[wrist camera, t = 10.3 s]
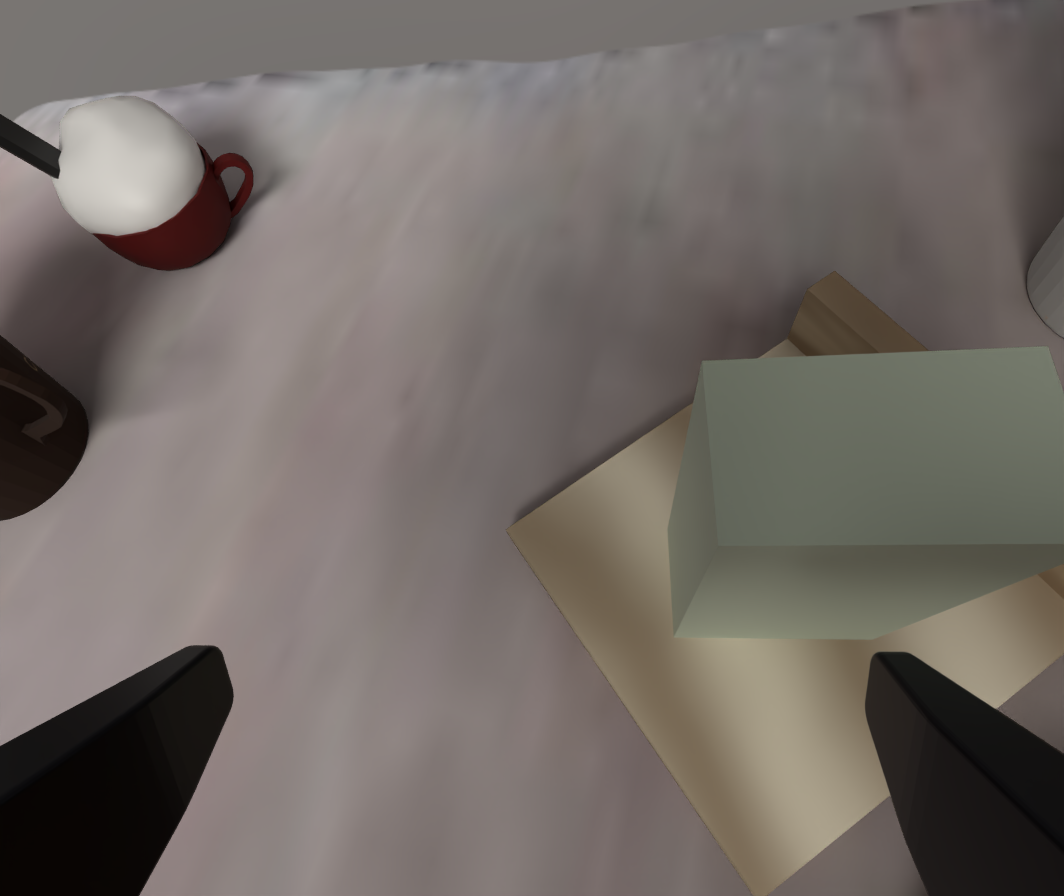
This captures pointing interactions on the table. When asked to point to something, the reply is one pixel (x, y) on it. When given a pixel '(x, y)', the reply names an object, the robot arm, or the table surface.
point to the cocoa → (136, 180)
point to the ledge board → (761, 640)
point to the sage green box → (863, 490)
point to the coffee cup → (1049, 281)
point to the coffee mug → (35, 433)
